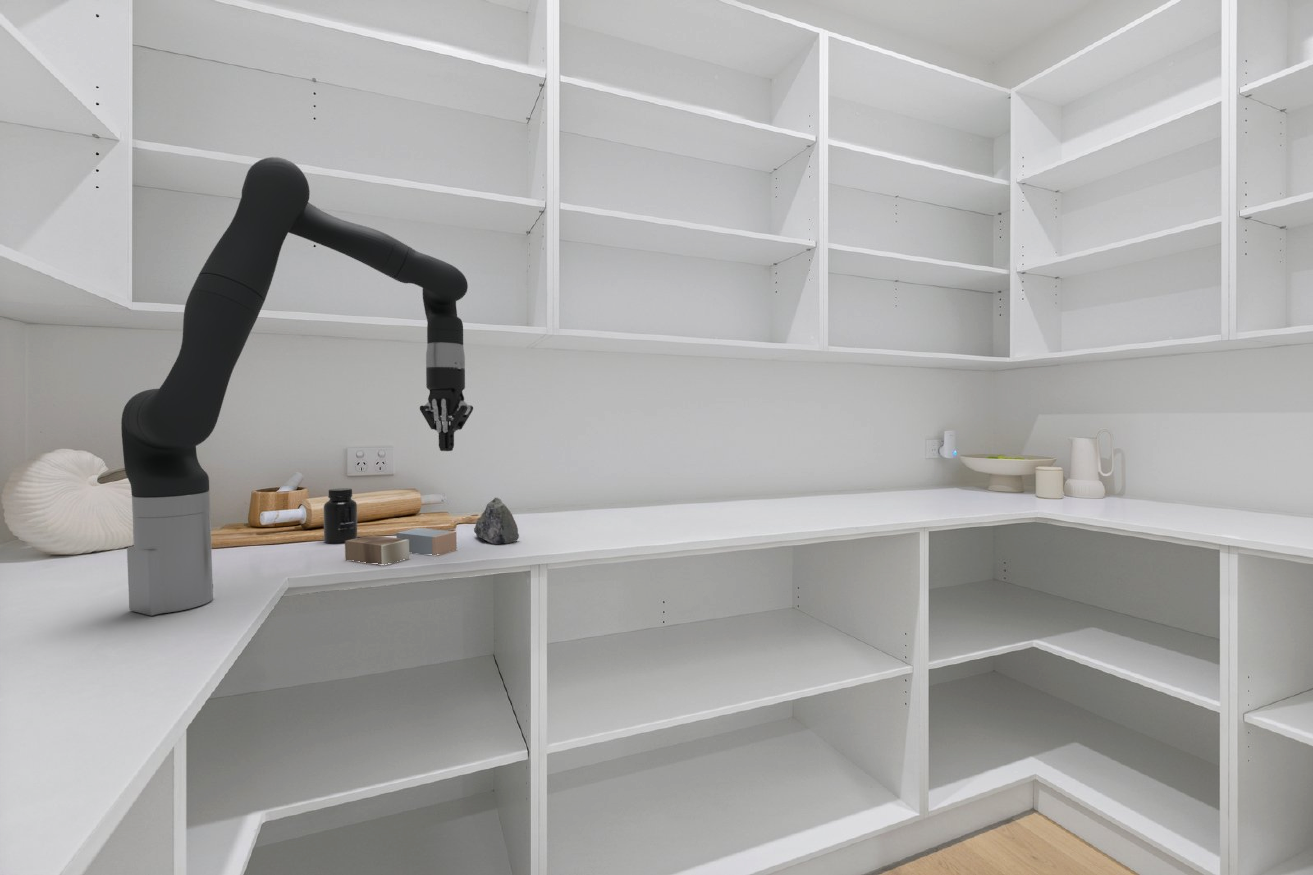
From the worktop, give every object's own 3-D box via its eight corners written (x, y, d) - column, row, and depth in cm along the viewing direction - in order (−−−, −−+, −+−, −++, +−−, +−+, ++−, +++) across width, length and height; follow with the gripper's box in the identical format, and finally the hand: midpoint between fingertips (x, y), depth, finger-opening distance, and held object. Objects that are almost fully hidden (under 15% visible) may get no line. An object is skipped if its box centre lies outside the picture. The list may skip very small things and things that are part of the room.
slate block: (435, 537, 122) (396, 532, 127) (435, 556, 122) (396, 551, 127) (456, 531, 128) (418, 527, 132) (456, 550, 128) (418, 545, 132)
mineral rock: (475, 535, 144) (475, 493, 143) (521, 533, 146) (520, 492, 145) (468, 546, 131) (467, 501, 131) (518, 544, 133) (517, 500, 133)
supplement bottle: (347, 544, 134) (346, 491, 133) (317, 544, 134) (316, 491, 133) (363, 537, 141) (362, 487, 140) (334, 537, 141) (333, 487, 140)
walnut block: (384, 545, 114) (344, 540, 119) (384, 566, 115) (345, 560, 119) (408, 539, 120) (370, 535, 124) (409, 559, 120) (371, 554, 125)
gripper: (407, 366, 122) (408, 451, 122) (456, 364, 116) (457, 452, 117) (435, 369, 129) (436, 449, 129) (483, 367, 123) (483, 450, 123)
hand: (446, 450), depth 123 cm, fingers closed
